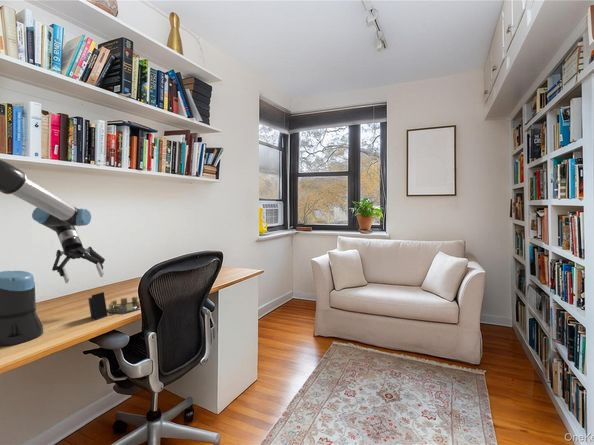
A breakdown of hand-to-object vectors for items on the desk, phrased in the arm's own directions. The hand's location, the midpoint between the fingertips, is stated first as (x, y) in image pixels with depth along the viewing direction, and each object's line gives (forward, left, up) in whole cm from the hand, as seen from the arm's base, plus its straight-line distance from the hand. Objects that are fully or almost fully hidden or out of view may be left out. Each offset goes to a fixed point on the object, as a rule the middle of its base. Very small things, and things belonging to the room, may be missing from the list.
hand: (85, 278), depth 143 cm
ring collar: (+14, +7, -15) cm, 22 cm away
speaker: (+9, -5, -15) cm, 19 cm away
